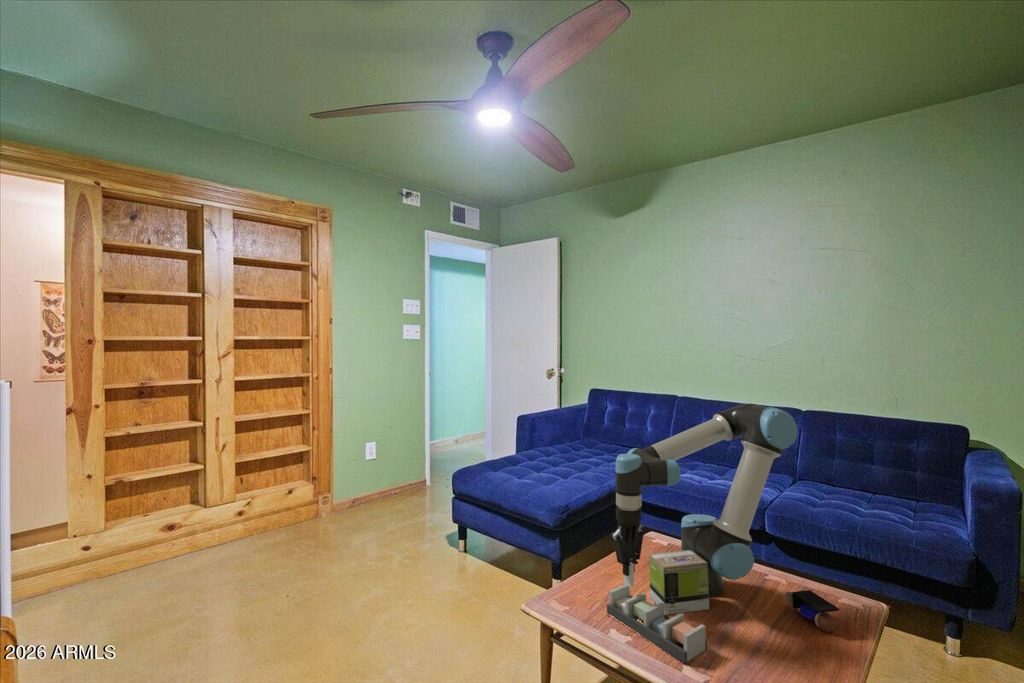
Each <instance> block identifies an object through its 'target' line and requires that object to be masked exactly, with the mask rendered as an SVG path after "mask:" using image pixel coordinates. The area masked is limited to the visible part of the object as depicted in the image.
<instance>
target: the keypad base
mask: <svg viewBox="0 0 1024 683" xmlns="http://www.w3.org/2000/svg"><path fill="white" fill-rule="evenodd" d="M630 588H631V587H629V586H627V585H625V584H623V585H620V586H618V587H615V588H614V589H611V590H609V592H608V598H609V599H608V604H606V614H607V613H608V614H610V615H612V616H614V617H615V618H616V619H618V620H619V621H621V622H623V623H624V624H625V625H627V626H628V627H630V628H631V629H633V630H635V631H636V632H638V633H639V634H640V635H642V636H643V637H645V638H646V639H648V640H649V641H651V642H652V643H654V644H655V645H656V646H658V647H659V648H661V649H662V650H661V649H660V650H661V651H663V652H664V651H665V652H664V653H666V652H667V653H668V654H667V653H666V654H667V655H669V654H670V655H671V656H670V655H669V656H670V657H672V658H673V657H674V659H675V658H676V659H675V660H677V661H678V660H679V662H680V663H681V662H682V663H681V664H683V665H684V664H685V665H687V664H688V663H690V662H691V661H693V660H694V659H696V658H698V657H699V656H701V655H702V654H703V653H705V652H707V651H708V638H707V637H706V625H704V624H703V623H701V624H700V625H698V626H696V627H693V628H694V629H693V630H691V631H689V632H687V633H686V634H684V644H682V643H680V642H679V641H677V640H675V639H674V638H672V626H674V625H676V624H678V623H680V622H681V621H683V622H685V614H684V613H677V614H676V615H675V616H672V617H671V616H670V617H669V616H668V615H665V614H664V603H662V602H661V603H659V604H657V605H656V604H655V605H654V606H653V607H651V608H649V609H647V610H645V611H643V620H641V618H640V619H639V617H637V616H636V615H634V614H633V604H636V603H638V602H640V601H642V600H645V601H647V593H646V592H641V593H639V594H637V595H635V596H633V595H630V594H631V593H630V591H631V589H630ZM625 597H628V598H630V599H628V600H626V601H625V613H624V612H622V611H620V610H619V609H617V608H616V601H618V600H620V599H623V598H625ZM661 617H663V618H665V619H667V621H665V622H663V636H661V635H659V634H658V633H656V632H654V631H653V630H652V622H654V621H655V620H657V619H659V618H661ZM637 619H639V620H641V621H642V623H643V624H641V623H640V622H638V621H637ZM646 639H645V640H646ZM649 641H648V642H649ZM652 643H651V644H652ZM655 645H654V646H655ZM656 646H655V647H656ZM658 647H657V648H658ZM659 648H658V649H659Z"/></svg>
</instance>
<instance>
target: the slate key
mask: <svg viewBox="0 0 1024 683" xmlns="http://www.w3.org/2000/svg"><path fill="white" fill-rule="evenodd" d="M665 621H667V619H665V618H663V617H661V618H659V619H657V620H655V621H654V622H652V630H653V631H654V632H656V633H658V634H659V635H661V636H663V622H665Z"/></svg>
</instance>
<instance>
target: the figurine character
mask: <svg viewBox="0 0 1024 683" xmlns="http://www.w3.org/2000/svg"><path fill="white" fill-rule="evenodd" d="M784 597H785V600H786V602H787V603H788V604H789V605H792V608H793V611H795V612H796V613H798V615H799V614H800V615H801V616H802V617H805V618H808V619H809V620H811V621H814V623H815V625H816V627H817V628H818V629H820V630H821V631H823V632H825V633H830V632H833V631H834V630H835V628H836V626H837V625H836V620H835V618H834V617H833V616H832V615H831V614H830V612H831V613H832V612H838V611H840V608H839V607H837V606H836V605H835V604H833V603H831V602H830V601H828V600H827V599H825V598H823V597H822V596H820V595H818V594H817V593H815V592H813V590H810V589H809V590H799V591H786V592H785V593H784Z"/></svg>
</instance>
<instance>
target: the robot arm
mask: <svg viewBox="0 0 1024 683" xmlns="http://www.w3.org/2000/svg"><path fill="white" fill-rule="evenodd" d="M797 436H798V425H797V423H796V422H795V419H794V417H793V416H792V415H791V414H790V413H789V412H787V411H786V410H782V409H779V408H777V407H772V406H766V405H759V404H756V403H743V404H739V405H736V406H731V407H730V408H727V409H725V410H723V411H720V412H718V413H715V414H714V415H713V417H712V419H709V420H707V421H705V422H702V423H700V424H697V425H695V426H693V427H690V428H689V429H686V430H684V431H681V432H679V433H677V434H674V435H673V436H670V437H668V438H666V439H663V440H661V441H657V442H656V443H654V444H652V445H649V446H647V447H644V448H638V447H635V448H631V449H629V450H628V452H627V453H621V454H619V455H617V457H616V458H615V459H616V460H615V469H614V470H615V471H614V472H615V505H616V506H615V518H616V520H617V525H616V531H615V532H611V534H610V536H611V538H612V541H613V545H614V549H615V556H616V561H617V563H619V564H621V565H622V574H623V585H627V586H629V587H630V588H633V587H635V571H636V565H638V563H639V562H638V561H639V560H641V556H642V555H641V554H642V547H643V541H644V534H645V532H646V526H644V525H641V521H642V506H643V504H642V503H643V502H642V488H643V487H661V486H662V487H663V486H664V487H665V486H666V487H668V486H672V485H673V486H674V485H677V484H679V482H680V480H681V475H682V474H681V469H680V465H679V463H678V462H677V460H680V459H682V458H685V457H687V456H689V455H691V454H694V453H696V452H698V451H701V450H703V449H705V448H707V447H710V446H712V445H715V444H716V443H719V442H720V441H724V440H725V441H732V440H734V439H738V438H739V439H740V438H741V440H740V442H741V444H742V446H743V451H742V454H741V457H740V460H739V462H738V463H739V464H738V465H737V469H736V472H735V475H734V477H733V481H732V482H731V486H730V489H729V492H728V494H727V498H726V501H725V503H724V506H723V509H722V512H721V514H720V518H719V519H718V518H717V517H715V516H712V515H707V514H701V513H700V514H699V513H698V514H697V513H693V514H686V515H685V516H683V517H682V519H681V525H680V530H681V534H680V535H681V537H680V538H681V539H680V540H681V541H680V542H681V544H680V545H681V546H680V548H681V551H684V550H691V551H693V552H694V553H695V554H697V555H698V556H699V557H701V558H702V559H703V560H705V561H706V562H707V563H708V581H709V597H710V596H711V597H712V596H718V595H721V594H722V593H724V590H725V581H724V578H725V579H728V580H733V581H735V580H740V579H741V578H744V577H746V576H747V575H748V574H749V573H751V570H752V569H753V567H754V564H755V556H754V555H753V554H754V553H753V552H752V550H751V548H750V547H751V544H752V543H753V542H752V541H753V539H752V536H751V535H750V529H751V527H752V525H753V520H754V517H755V514H756V511H757V508H758V507H759V506H758V505H759V502H760V500H761V497H762V495H763V491H764V489H765V485H766V483H767V480H768V477H769V474H770V471H771V467H772V466H773V465H772V464H773V462H774V459H776V458H780V457H781V456H782V454H783V451H784V450H785V449H788V448H790V446H793V444H794V443H795V442H796V440H797ZM637 560H638V561H637Z"/></svg>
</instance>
